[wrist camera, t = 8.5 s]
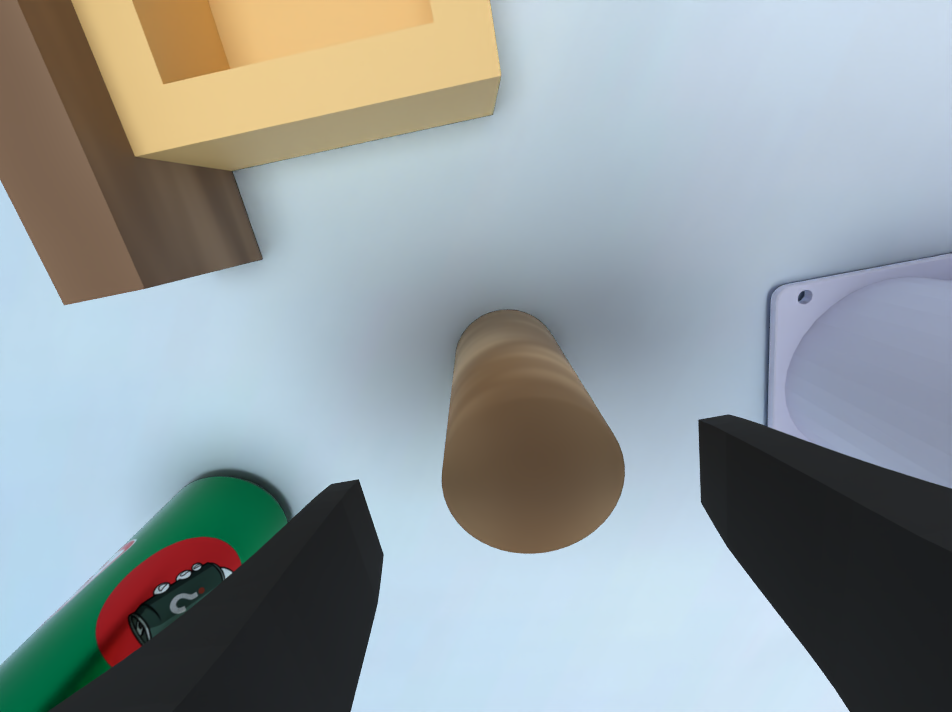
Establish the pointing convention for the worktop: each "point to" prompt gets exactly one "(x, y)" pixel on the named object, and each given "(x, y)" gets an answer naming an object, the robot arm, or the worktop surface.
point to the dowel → (525, 441)
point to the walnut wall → (100, 172)
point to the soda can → (141, 589)
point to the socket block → (288, 73)
